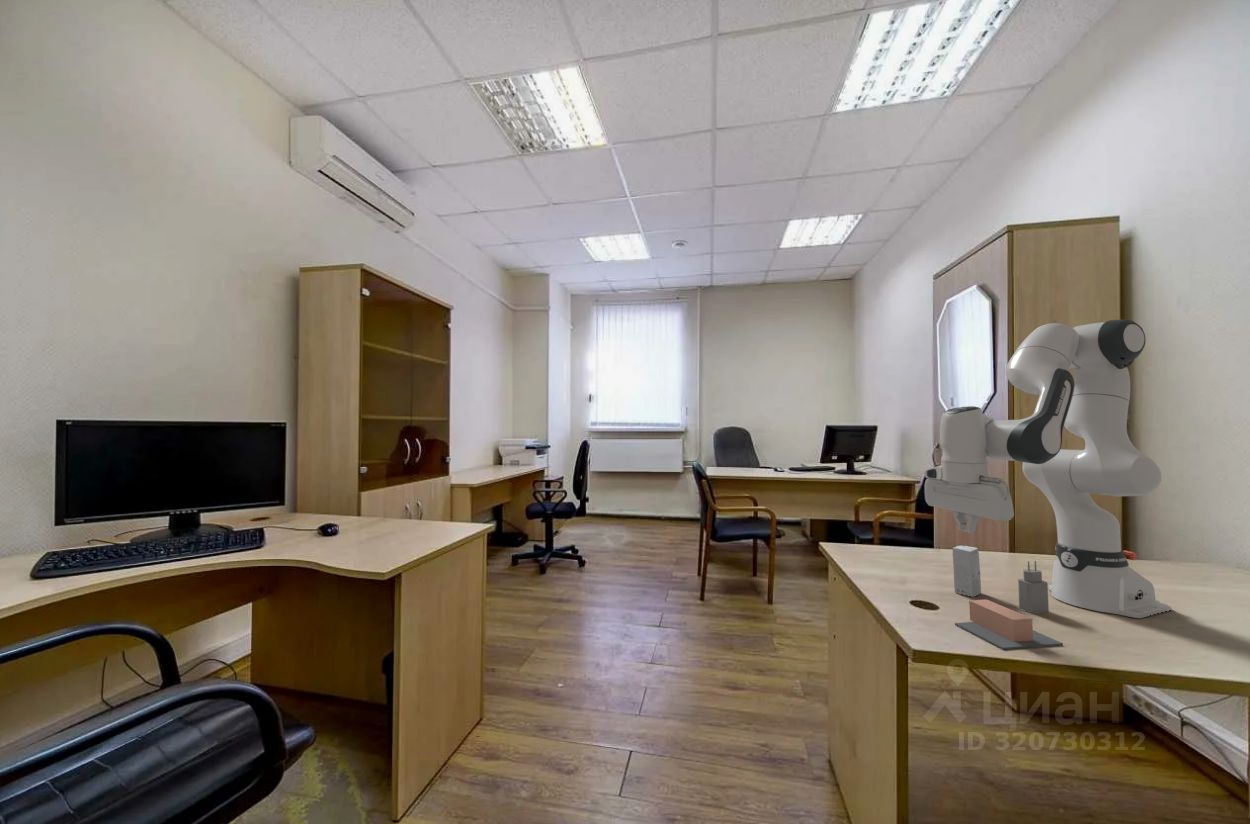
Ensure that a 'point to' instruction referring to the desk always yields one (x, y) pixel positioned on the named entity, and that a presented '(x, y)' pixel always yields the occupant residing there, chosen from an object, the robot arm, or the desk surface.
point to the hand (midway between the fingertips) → (966, 531)
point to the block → (1001, 620)
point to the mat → (1004, 642)
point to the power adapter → (1033, 591)
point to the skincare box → (966, 570)
